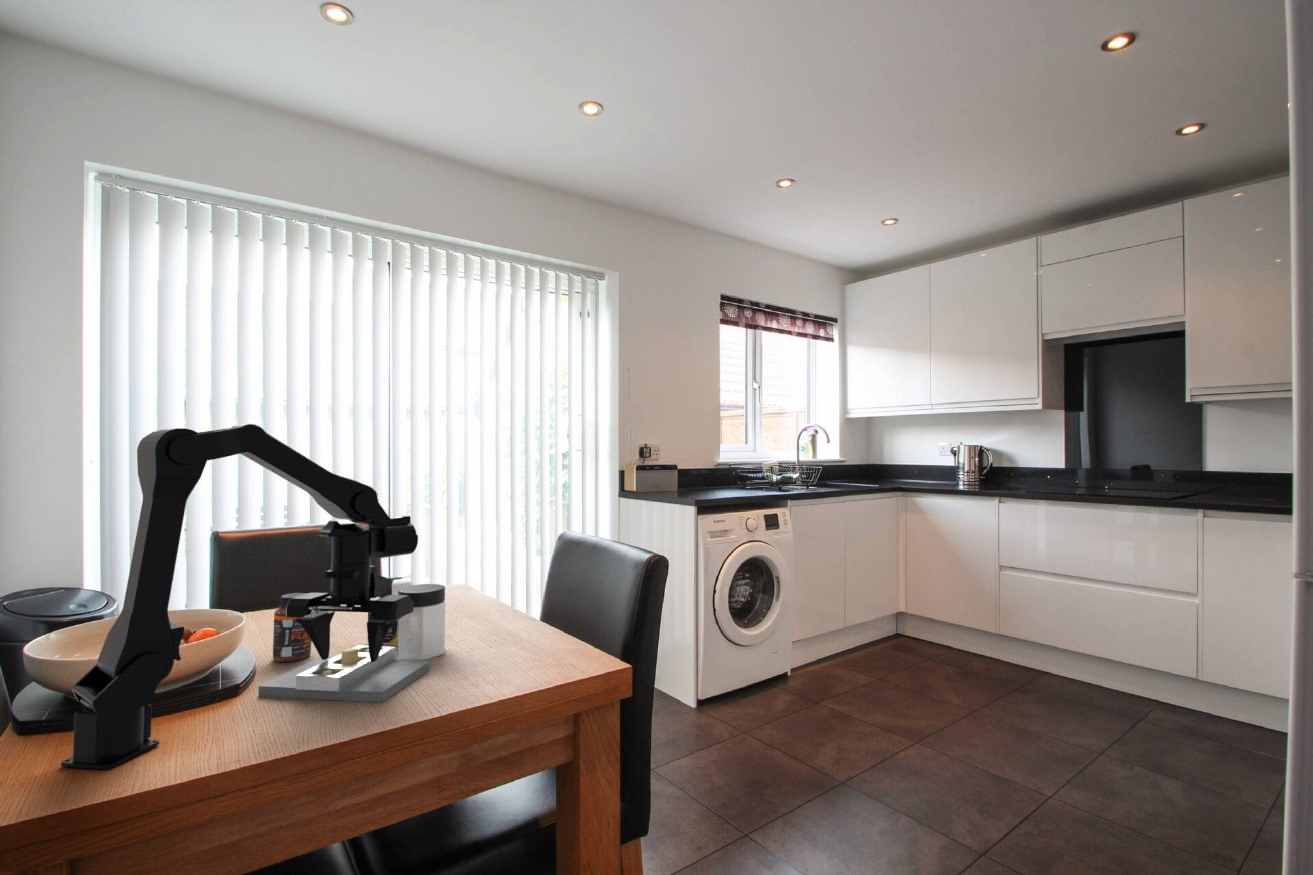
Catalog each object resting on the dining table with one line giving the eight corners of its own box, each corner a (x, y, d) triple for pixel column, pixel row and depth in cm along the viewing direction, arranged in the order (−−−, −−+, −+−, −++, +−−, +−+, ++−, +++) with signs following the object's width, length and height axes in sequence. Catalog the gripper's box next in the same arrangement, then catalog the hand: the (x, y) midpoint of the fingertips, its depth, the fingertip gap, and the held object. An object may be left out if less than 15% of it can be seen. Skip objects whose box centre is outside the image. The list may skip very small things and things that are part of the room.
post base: (382, 702, 88) (382, 667, 88) (258, 696, 91) (259, 662, 91) (429, 669, 102) (430, 639, 102) (321, 665, 104) (322, 636, 105)
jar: (385, 660, 107) (386, 592, 107) (409, 646, 115) (409, 583, 116) (434, 661, 106) (434, 593, 107) (453, 647, 114) (454, 584, 115)
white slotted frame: (358, 656, 104) (358, 645, 104) (396, 658, 103) (396, 646, 103) (295, 689, 89) (295, 675, 89) (338, 691, 88) (339, 677, 88)
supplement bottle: (293, 664, 105) (294, 599, 105) (264, 662, 106) (265, 597, 107) (318, 653, 111) (320, 591, 111) (291, 651, 112) (292, 590, 112)
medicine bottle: (366, 642, 117) (367, 581, 118) (392, 633, 124) (393, 574, 125) (396, 646, 115) (397, 583, 116) (421, 635, 122) (422, 576, 123)
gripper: (430, 555, 104) (429, 647, 103) (331, 553, 106) (329, 643, 106) (394, 566, 93) (393, 669, 92) (284, 564, 95) (282, 664, 94)
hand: (349, 660), depth 96 cm, fingers open, 8 cm apart
